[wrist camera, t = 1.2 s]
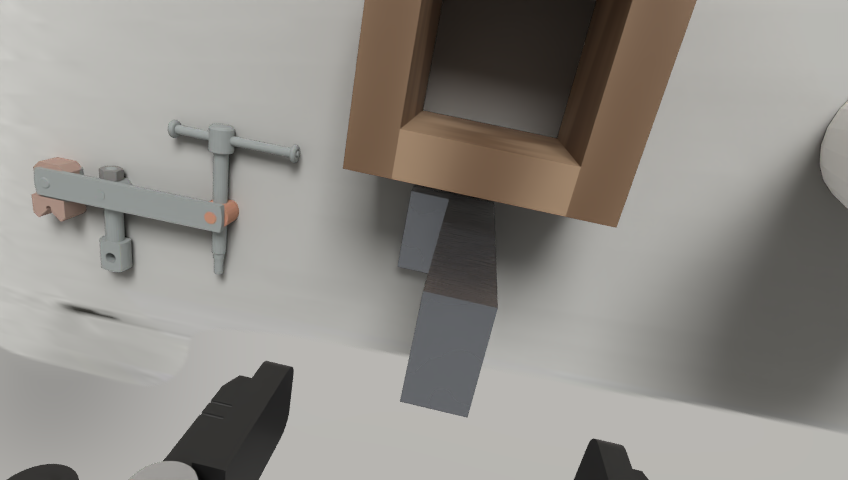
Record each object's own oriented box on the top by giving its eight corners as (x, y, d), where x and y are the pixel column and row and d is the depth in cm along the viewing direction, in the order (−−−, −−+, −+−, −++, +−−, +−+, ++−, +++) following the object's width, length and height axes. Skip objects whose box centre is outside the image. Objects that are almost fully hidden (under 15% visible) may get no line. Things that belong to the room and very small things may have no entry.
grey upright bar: (494, 202, 27) (497, 308, 16) (476, 274, 28) (467, 417, 17) (414, 185, 27) (361, 277, 16) (401, 258, 29) (344, 388, 17)
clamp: (37, 261, 30) (16, 89, 26) (67, 247, 32) (51, 87, 28) (279, 314, 29) (292, 145, 25) (293, 297, 31) (307, 138, 27)
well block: (659, -55, 22) (732, -101, 15) (584, 184, 26) (616, 227, 19) (416, -101, 22) (386, -165, 16) (379, 140, 26) (342, 168, 20)
